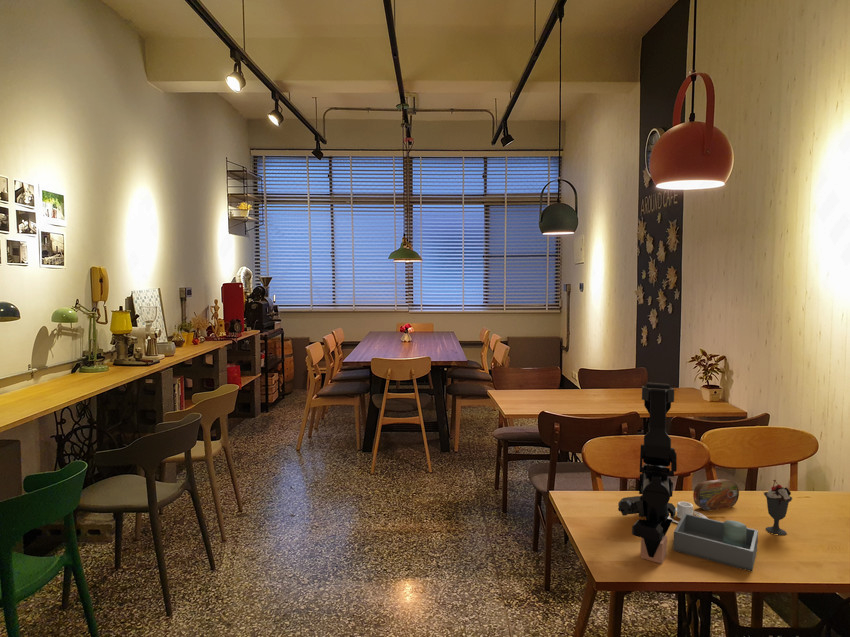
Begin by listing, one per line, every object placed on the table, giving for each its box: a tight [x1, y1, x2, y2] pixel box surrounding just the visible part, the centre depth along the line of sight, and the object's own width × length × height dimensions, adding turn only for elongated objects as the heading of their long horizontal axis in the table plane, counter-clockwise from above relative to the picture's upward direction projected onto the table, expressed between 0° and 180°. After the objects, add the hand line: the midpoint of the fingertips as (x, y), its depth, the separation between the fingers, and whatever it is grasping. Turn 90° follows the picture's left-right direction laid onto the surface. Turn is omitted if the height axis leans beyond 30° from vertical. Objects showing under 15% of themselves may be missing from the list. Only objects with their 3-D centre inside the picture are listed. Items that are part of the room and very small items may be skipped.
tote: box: [672, 513, 759, 572], centre depth 139 cm, size 13×17×5 cm
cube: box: [640, 535, 668, 565], centre depth 136 cm, size 5×5×5 cm
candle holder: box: [667, 501, 709, 524], centre depth 158 cm, size 12×12×4 cm
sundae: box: [763, 479, 793, 536], centre depth 149 cm, size 7×7×15 cm
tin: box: [692, 478, 740, 512], centre depth 165 cm, size 15×3×8 cm, turn 105°
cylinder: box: [723, 520, 748, 548], centre depth 137 cm, size 5×5×7 cm
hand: (653, 552), depth 136 cm, fingers closed on cube, 5 cm apart
